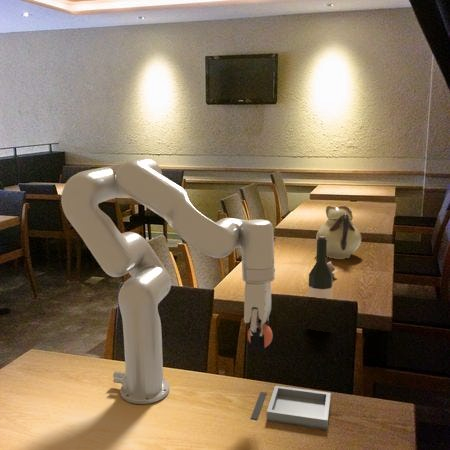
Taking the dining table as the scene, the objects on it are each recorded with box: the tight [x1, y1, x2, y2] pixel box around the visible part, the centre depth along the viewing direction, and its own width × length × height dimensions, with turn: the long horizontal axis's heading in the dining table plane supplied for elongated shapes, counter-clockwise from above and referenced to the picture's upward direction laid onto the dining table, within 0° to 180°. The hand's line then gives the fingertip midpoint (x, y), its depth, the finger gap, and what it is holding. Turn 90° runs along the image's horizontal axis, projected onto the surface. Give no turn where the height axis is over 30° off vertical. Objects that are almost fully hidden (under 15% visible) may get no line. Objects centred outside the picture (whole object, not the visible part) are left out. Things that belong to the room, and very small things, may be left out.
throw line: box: [250, 391, 267, 421], centre depth 123 cm, size 2×12×1 cm, turn 165°
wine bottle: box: [307, 236, 334, 300], centre depth 174 cm, size 8×8×30 cm
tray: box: [266, 385, 332, 431], centre depth 121 cm, size 14×12×2 cm
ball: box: [247, 324, 274, 348], centre depth 120 cm, size 6×6×6 cm
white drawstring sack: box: [315, 205, 362, 260], centre depth 254 cm, size 22×24×25 cm
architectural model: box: [326, 261, 338, 278], centre depth 221 cm, size 3×7×7 cm, turn 143°
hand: (260, 344), depth 120 cm, fingers closed on ball, 5 cm apart
